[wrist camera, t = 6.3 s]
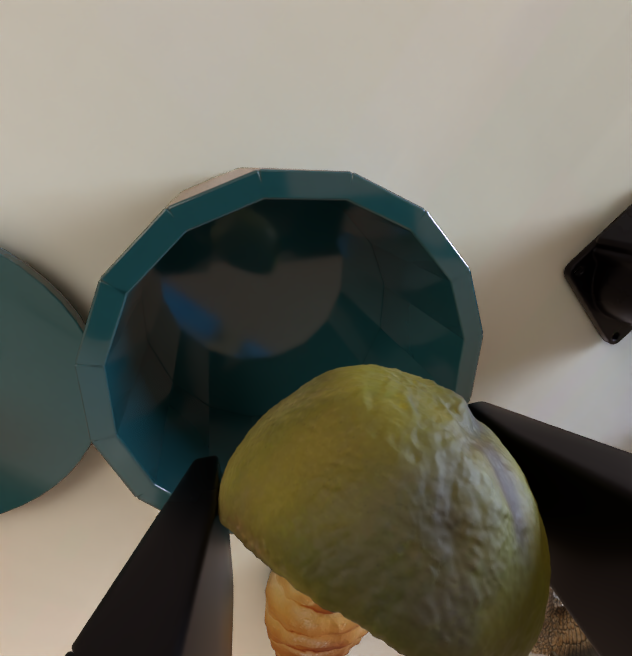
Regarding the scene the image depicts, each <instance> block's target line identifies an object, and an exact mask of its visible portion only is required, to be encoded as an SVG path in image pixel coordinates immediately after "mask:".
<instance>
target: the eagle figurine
mask: <svg viewBox="0 0 632 656" xmlns="http://www.w3.org/2000/svg"><path fill="white" fill-rule="evenodd" d="M549 655H550V656H599V654H598V653H597V652H596V650H595V649H594V647H593V646H592V645H591V643H590V642H589V640H588V639H587V637H586V636H585V635H584V633H583V632H582V630H581V629H580V628H579V626H578V625H577V623H576V622H575V621H574V619H573V618H572V616H571V615H570V614H569V612H568V611H567V609H566V608H565V607H564V606H562V603H561V601H560V599H559V598H558V597H557V595H556V594H555V592H554V591H553V590H552V588H551V587H550V586H549V598H548V603H547V607H546V612H545V620H544V623H543V627H542V630H541V633H540V635H539V637H538V641H537V642H536V644H535V645H534V646H533V649H532V651H531V652H530V653H529V656H549Z"/></svg>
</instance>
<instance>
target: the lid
mask: <svg viewBox="0 0 632 656" xmlns="http://www.w3.org/2000/svg"><path fill="white" fill-rule="evenodd" d="M85 326H86V325H85V324H84V322H83V320H82V319H81V317H80V315H79V314H78V313H77V312H76V310H75V309H74V308H73V306H72V305H71V304H70V303H69V301H68V300H67V299H66V298H65V297H64V296H63V295H62V294H61V293H60V292H59V291H58V290H57V289H56V288H55V287H54V286H53V285H52V284H51V283H50V282H49V281H48V280H47V279H46V278H45V277H43V276H42V275H41V274H39V273H38V272H37V271H36V270H34V269H33V268H32V267H31V266H29V265H28V264H27V263H25V262H24V261H22V260H20V259H19V258H17V257H16V256H14V255H12V254H11V253H9V252H8V251H6V250H5V249H3V248H1V247H0V514H2V513H5V512H7V511H10V510H12V509H15V508H17V507H20V506H22V505H24V504H26V503H28V502H30V501H32V500H34V499H36V498H37V497H39V496H41V495H42V494H44V493H45V492H47V491H48V490H50V489H51V488H53V487H54V486H55V485H57V484H58V483H59V482H60V481H61V480H62V479H64V478H65V477H66V476H67V475H68V474H69V473H70V472H71V471H72V470H73V469H74V468H75V466H76V465H77V464H78V463H79V462H80V460H81V459H82V458H83V456H84V455H85V453H86V451H87V450H88V448H89V446H90V445H91V443H92V441H90V438H89V433H88V428H87V423H86V419H85V414H84V409H83V404H82V399H81V394H80V389H79V385H78V380H77V375H76V370H75V360H76V356H77V353H78V349H79V346H80V343H81V339H82V336H83V332H84V329H85Z"/></svg>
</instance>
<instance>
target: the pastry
mask: <svg viewBox="0 0 632 656" xmlns="http://www.w3.org/2000/svg"><path fill="white" fill-rule="evenodd" d="M265 592H266V610H265V624H266V626H267V633H268V637H269V639H270V641H271V646H272V648H273V649H274V650H275V654H276V656H345V655H346V654H348V653H349V650H350V649H351V648H352V647H353V646H355V645H357V644H359V643H360V641H361V638H362V637H363V636H364V635H366V634H367V633H368V631H367V630H365V629H363V628H361V627H360V626H359V625H358V624H356V623H353V622H352V621H351V620H348V619H347V618H345V617H343V615H342V614H341V613H339V612H338V613H333V612H330V611H328V610H324V609H322V608H321V607H320V606H319V605H317V604H316V603H314V602H313V601H312V599H311V598H310V597H309V596H306V595H304V594H303V593H301V592H299V591H297V590H296V589H295V588H294V587H293V586H292V585H291V584H290V583H289V582H288V581H287V580H286V579H285V578H283V577H281V576H279V575H277V574H276V573H274V572H273V571H271V573H270V575H269V579H268V582H267V586H266V591H265Z"/></svg>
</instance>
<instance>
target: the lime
mask: <svg viewBox="0 0 632 656" xmlns="http://www.w3.org/2000/svg"><path fill="white" fill-rule="evenodd" d="M218 515H219V521H220V523H221V524H222V525H223V526H224V527H226V528H227V529H229V530H230V531H231V532H232V533H234V534H235V536H236V537H237V538H238V539H239V540H240V541H241V542H242V543H243V544H244V546H245V547H246V548H247V549H249V550H250V551H251V552H253V554H254V555H255V556H256V557H257V558H259V559H261V560H262V562H263V563H264V564H266V565H267V566H268V567H269V568H270V569H271V570H272V571H273V572H274V573H276V574H277V575H279V576H281V577H283V578H285V579H286V580H287V581H288V582H289V583H290V584H291V585H292V586H293V587H294V588H295V589H296V590H297V591H299V592H301V593H303V594H304V595H306V596H309V597H310V598H311V599H312V601H313V602H314V603H316V604H317V605H319V606H320V607H321V608H322V609H324V610H328V611H330V612H333V613H338V612H339V613H341V614H342V615H343V617H345V618H347V619H348V620H351V621H352V622H353V623H356V624H358V625H359V626H360V627H361V628H363V629H365V630H367V631H368V632H370V633H371V634H372V635H373V636H374V637H376V638H378V639H381V640H383V641H384V642H385V643H386V644H387V645H388V646H390V647H392V648H394V649H395V650H396V651H397V652H398V653H399V654H402V655H405V656H529V653H530V652H531V651H532V649H533V646H534V645H535V644H536V642H537V641H538V637H539V635H540V633H541V630H542V627H543V623H544V620H545V612H546V607H547V603H548V598H549V586H550V578H551V566H550V553H549V545H548V539H547V535H546V532H545V527H544V524H543V521H542V518H541V515H540V513H539V509H538V504H537V501H536V499H535V497H534V495H533V493H532V491H531V489H530V486H529V484H528V481H527V479H526V477H525V475H524V473H523V472H522V470H521V468H520V466H519V465H518V464H517V462H516V460H515V459H514V458H513V457H512V455H511V454H510V453H509V451H508V450H507V449H506V448H505V447H504V446H503V444H502V443H501V441H500V439H499V438H498V437H497V436H496V435H495V434H494V433H493V432H492V431H491V430H490V429H489V428H488V427H487V426H486V425H485V424H483V423H481V422H479V421H478V420H477V419H476V418H475V417H474V416H473V414H472V413H471V411H470V409H469V407H468V405H467V403H466V401H465V400H464V398H463V397H462V396H460V395H458V394H457V393H455V392H454V391H452V390H450V389H447V388H444V387H442V386H440V385H438V384H436V383H435V382H434V381H433V380H429V379H423V378H422V377H419V376H415V375H412V374H409V373H406V372H402V371H401V370H398V369H397V368H387V367H383V366H378V365H373V364H368V365H356V366H347V367H339V368H336V369H333V370H330V371H327V372H325V373H323V374H321V375H319V376H317V377H315V378H313V379H312V380H311V381H309V382H307V383H305V384H304V385H302V386H301V387H300V388H299V389H298V390H296V391H295V392H294V393H292V394H291V395H290V396H288V397H286V398H285V399H282V400H281V401H280V402H279V403H278V404H276V405H275V406H273V407H272V408H271V409H269V410H268V411H267V413H265V414H264V415H263V416H262V417H261V418H260V419H259V420H258V421H257V423H256V424H255V425H254V426H253V427H252V428H251V429H250V430H249V431H248V433H247V435H246V436H245V438H244V439H243V441H242V442H241V443H240V445H239V446H238V447H237V448H236V451H235V452H234V453H233V455H232V456H231V458H230V459H229V461H228V464H227V466H226V469H225V471H224V474H223V477H222V479H221V483H220V488H219V494H218Z"/></svg>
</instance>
